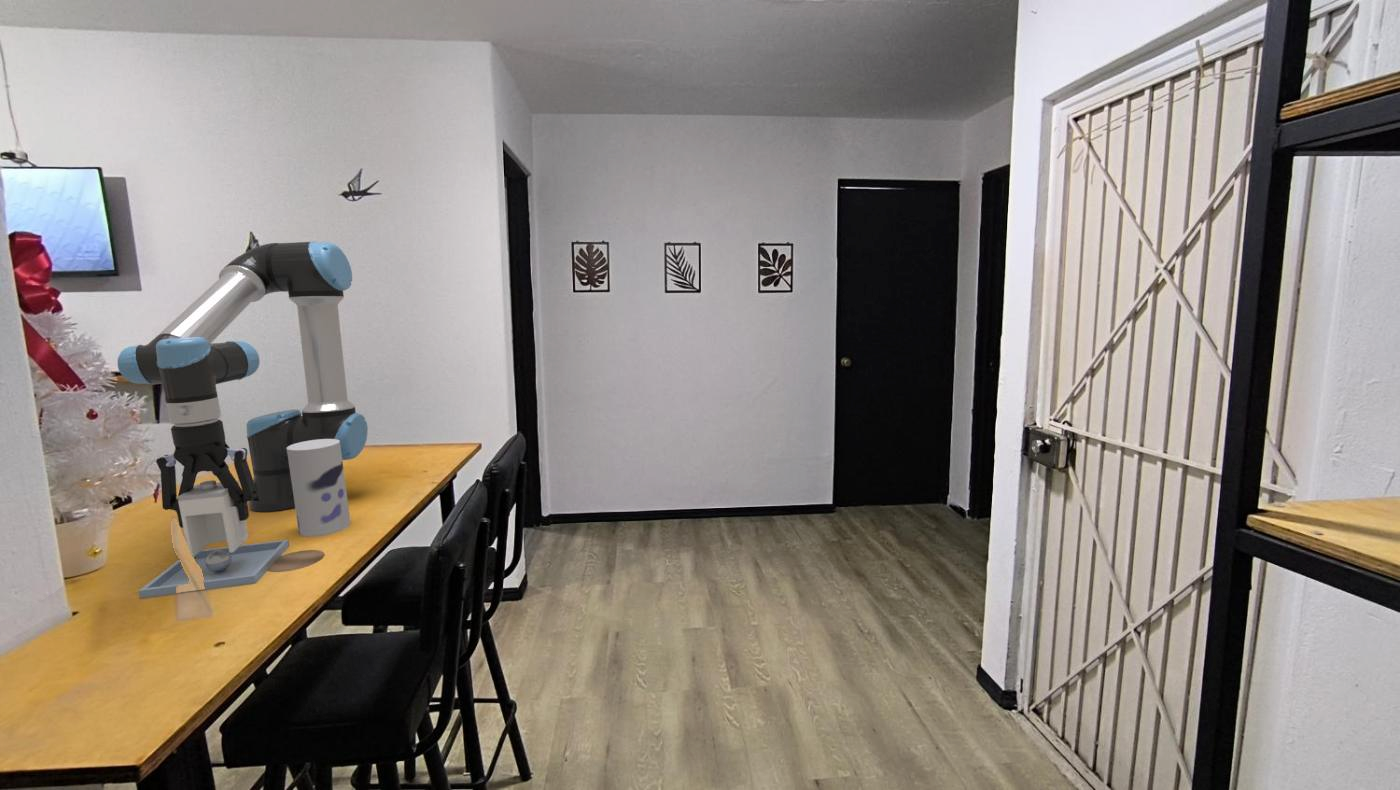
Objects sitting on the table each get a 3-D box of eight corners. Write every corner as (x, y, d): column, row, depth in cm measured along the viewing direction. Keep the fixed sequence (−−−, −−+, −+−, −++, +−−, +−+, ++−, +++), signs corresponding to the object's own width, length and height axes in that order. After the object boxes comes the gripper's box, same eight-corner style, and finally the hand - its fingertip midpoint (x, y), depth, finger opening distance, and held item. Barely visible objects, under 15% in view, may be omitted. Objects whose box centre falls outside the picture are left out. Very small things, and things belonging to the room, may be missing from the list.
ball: (212, 568, 122) (209, 548, 121) (236, 565, 123) (233, 545, 122) (203, 577, 118) (199, 556, 117) (227, 573, 119) (224, 553, 118)
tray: (191, 560, 127) (189, 551, 127) (290, 548, 131) (288, 539, 131) (140, 601, 110) (138, 590, 110) (256, 586, 115) (254, 575, 114)
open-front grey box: (207, 542, 123) (195, 478, 120) (248, 537, 125) (237, 474, 122) (189, 557, 116) (176, 490, 114) (233, 552, 118) (221, 486, 116)
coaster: (276, 556, 127) (275, 554, 127) (331, 549, 130) (330, 547, 130) (256, 578, 118) (255, 575, 118) (316, 570, 121) (315, 567, 120)
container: (327, 540, 135) (315, 449, 132) (288, 537, 137) (274, 448, 134) (360, 523, 145) (350, 438, 142) (323, 521, 147) (312, 437, 144)
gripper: (118, 431, 110) (145, 555, 114) (250, 421, 115) (270, 539, 119) (143, 422, 117) (167, 538, 121) (266, 413, 122) (284, 524, 126)
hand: (218, 539), depth 120 cm, fingers closed on open-front grey box, 7 cm apart
